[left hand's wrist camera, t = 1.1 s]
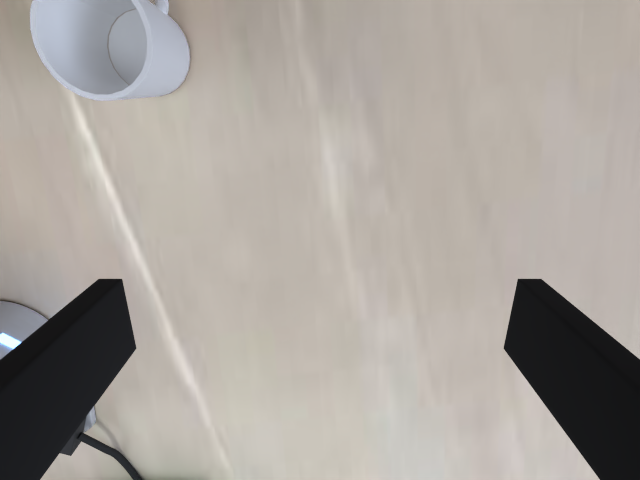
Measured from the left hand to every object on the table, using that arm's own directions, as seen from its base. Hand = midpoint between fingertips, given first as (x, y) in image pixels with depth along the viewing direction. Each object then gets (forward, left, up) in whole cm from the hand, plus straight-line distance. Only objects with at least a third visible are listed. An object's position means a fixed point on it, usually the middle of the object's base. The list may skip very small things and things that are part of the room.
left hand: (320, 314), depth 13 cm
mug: (-11, -17, -31) cm, 37 cm away
